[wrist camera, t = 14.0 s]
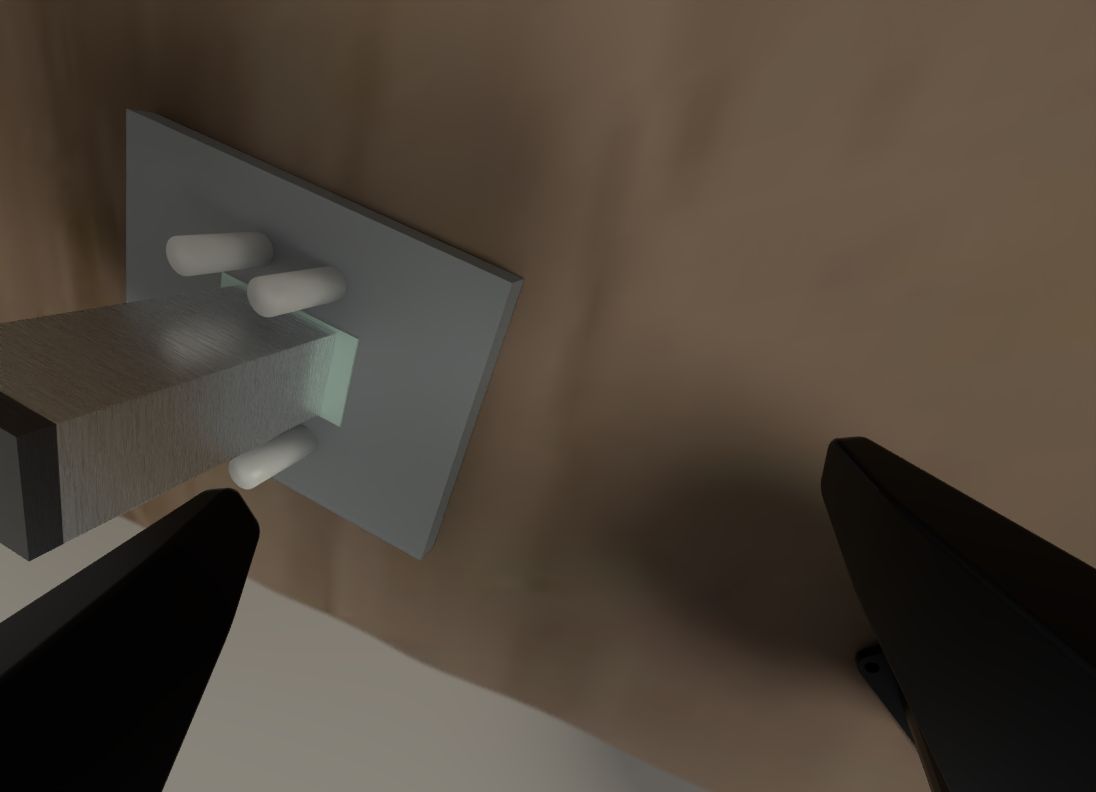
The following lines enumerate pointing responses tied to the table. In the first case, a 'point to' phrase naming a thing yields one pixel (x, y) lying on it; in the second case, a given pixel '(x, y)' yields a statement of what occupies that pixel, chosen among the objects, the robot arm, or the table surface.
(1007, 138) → the table surface
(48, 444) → the block
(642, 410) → the table surface
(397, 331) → the dock
